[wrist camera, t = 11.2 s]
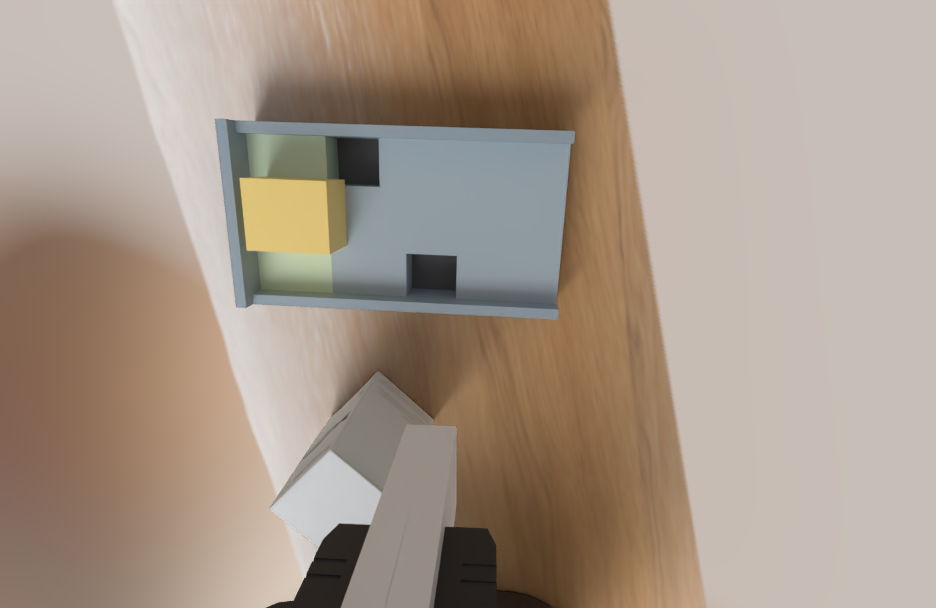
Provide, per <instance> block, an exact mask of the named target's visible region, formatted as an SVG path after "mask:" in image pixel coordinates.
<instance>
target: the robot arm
mask: <svg viewBox="0 0 936 608" xmlns="http://www.w3.org/2000/svg"><path fill="white" fill-rule="evenodd" d="M456 505H457V426H437V425H409V424H406V427H405V430H404V433H403V435H402V438H401V441H400V444H399V447H398V449H397V452H396V455H395V458H394V461H393V463H392V466H391V469H390V472H389V475H388V477H387V480H386V483H385V486H384V488H383V491H382V494H381V497H380V500H379V502H378V505H377V508H376V511H375V514H374V516H373V519H372V522H371V525H365V524H343V523H339V524H338V525H337V526H336V527H335V528H334V529H333V530H332V531H331V532H330V533H329V534H328V535H327V536H326V537H325V538H324V539H323V540H322V542H321V544H320V547H319V549H318V551H317V553H316V555H315V557H314V562H312V563H311V565H310V568H309V570H308V572H307V575H306V578H304V580H303V582H302V584H301V587H300V589H299V591H298V593H297V595H296V597H295V599H294V601H287V602H279V603H276V604H274V605H271V606H269V607H267V608H551V607H549V606H548V605H546V604H545V603H543V602H541V601H539V600H537V599H535V598H532V597H530V596H526V595H523V594H519V593H513V592H496V544H495V542H494V541H493V539H492V537H491V535H490V533H489V531H488V529H484V528H462V527H454V523H455V514H456Z"/></svg>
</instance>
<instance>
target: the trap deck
mask: <svg viewBox="0 0 936 608" xmlns="http://www.w3.org/2000/svg"><path fill="white" fill-rule="evenodd" d="M215 124H216V133H217V142H218V151H219V160H220V169H221V178H222V186H223V195H224V204H225V213H226V222H227V231H228V240H229V249H230V257H231V266H232V275H233V284H234V293H235V302H236V307H241V308H247V307H248V306H250V305H252V304H261V305H281V306H300V307H320V308H340V309H360V310H379V311H399V312H419V313H438V314H458V315H478V316H497V317H517V318H537V319H557V320H558V312H559V309H558V307H557V304H556V303H557V292H558V281H559V270H560V259H561V248H562V237H563V226H564V215H565V204H566V193H567V182H568V171H569V160H570V149H571V144H574V140H575V131H557V130H525V129H493V128H461V127H429V126H396V125H364V124H332V123H300V122H267V121H235V120H228V119H215ZM266 176H269V177H294V178H320V179H345V201H346V227H347V246H345V247H343V248H341V249H339V250H337V251H335V252H334V253H332V254H330V255H329V254H308V253H287V252H265V251H247V248H246V238H245V228H244V218H243V208H242V198H241V188H240V178H246V177H266Z"/></svg>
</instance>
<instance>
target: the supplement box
mask: <svg viewBox="0 0 936 608" xmlns="http://www.w3.org/2000/svg"><path fill="white" fill-rule="evenodd" d="M433 422H434V420H433V419H432V418H431V417H430V416H429V415H428V414H427V413H426V412H425V411H424V410H422V409H421V408H420V407H419V406H418V405H417V404H416V403H415V402H414V401H412V400H411V399H410V398H409V397H408V396H407V395H406V394H404V393H403V392H402V391H401V390H400V389H399V388H398V387H396V386H395V385H394V384H393V383H392V382H391V381H390V380H388V379H387V378H386V377H385V376H384V375H383V374H381V373H380V372H379V371H377V372H376V373H375V374H374V375H373V376H372V377H371V378H370V380H369V381H368V382H367V383H366V384H365V385H364V386H363V387H362V388H361V389H360V390H359V391H358V392H357V393H356V394H355V395H354V396H353V397H352V398H351V399H350V400H349V401H348V402H347V403H346V404H345V405H344V406H343V407H342V408H341V409H339V410H338V411H337V412H336V413H335V414H334V415H333V416H332V417H331V418H330V419H329V420H328V422H327V423H326V425H325V426H324V428H323V429H322V431H321V432H320V434H319V435H318V436H317V438H316V439H315V441H314V442H313V444H312V445H311V447H310V448H309V450H308V451H307V453H306V454H305V456H304V457H303V459H302V460H301V461H300V463H299V464H298V466H297V468H296V469H295V471H294V472H293V474H292V475H291V477H290V478H289V480H288V481H287V483H286V484H285V486H284V487H283V489H282V490H281V492H280V493H279V495H278V496H277V498H276V499H275V501H274V502H273V504H272V505H271V507H270V510H271V511H272V512H273V513H275V514H276V515H277V516H278V517H280V518H281V519H282V520H284V521H285V522H286V523H287V524H289V525H290V526H291V527H293V528H294V529H295V530H296V531H298V532H299V533H300V534H302V535H303V536H304V537H305V538H307V539H308V540H309V541H311V542H312V543H313V544H315V545H316V546H317V547H320V544H321V542H322V540H323V539H324V538H325V537H326V536H327V535H328V534H329V533H330V532H331V531H332V530H333V529H334V528H335V527H336V526H337V525H338V524H339V523H343V524H365V525H371V522H372V519H373V516H374V514H375V511H376V508H377V505H378V502H379V500H380V497H381V494H382V491H383V488H384V486H385V483H386V480H387V477H388V475H389V472H390V469H391V466H392V463H393V461H394V458H395V455H396V452H397V449H398V447H399V444H400V441H401V438H402V435H403V433H404V430H405V427H406V424H409V425H433Z"/></svg>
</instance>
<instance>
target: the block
mask: <svg viewBox="0 0 936 608" xmlns="http://www.w3.org/2000/svg"><path fill="white" fill-rule="evenodd" d="M240 188H241V198H242V208H243V218H244V228H245V238H246V248H247V251H265V252H287V253H308V254H329V255H330V254H332V253H334V252H335V251H337V250H339V249H341V248H343V247H345V246H347V227H346V201H345V179H320V178H294V177H269V176H266V177H246V178H240Z"/></svg>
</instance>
